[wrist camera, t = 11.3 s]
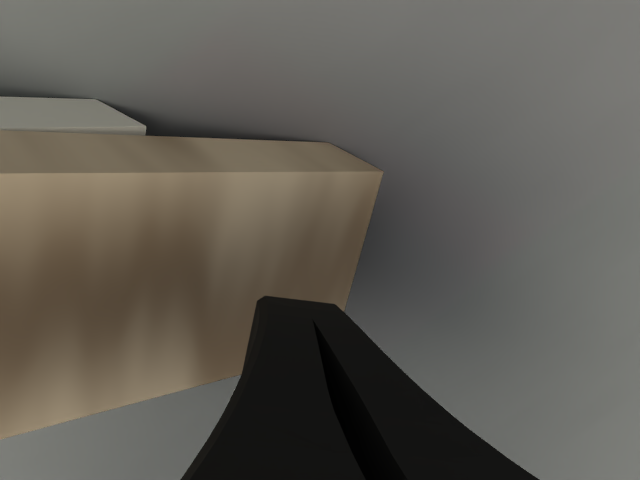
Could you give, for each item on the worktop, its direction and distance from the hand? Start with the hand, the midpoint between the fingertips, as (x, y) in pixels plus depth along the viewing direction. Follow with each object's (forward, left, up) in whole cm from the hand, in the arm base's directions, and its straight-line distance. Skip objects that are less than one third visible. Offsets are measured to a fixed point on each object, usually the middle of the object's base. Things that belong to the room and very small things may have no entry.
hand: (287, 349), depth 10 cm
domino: (0, -2, -4) cm, 5 cm away
